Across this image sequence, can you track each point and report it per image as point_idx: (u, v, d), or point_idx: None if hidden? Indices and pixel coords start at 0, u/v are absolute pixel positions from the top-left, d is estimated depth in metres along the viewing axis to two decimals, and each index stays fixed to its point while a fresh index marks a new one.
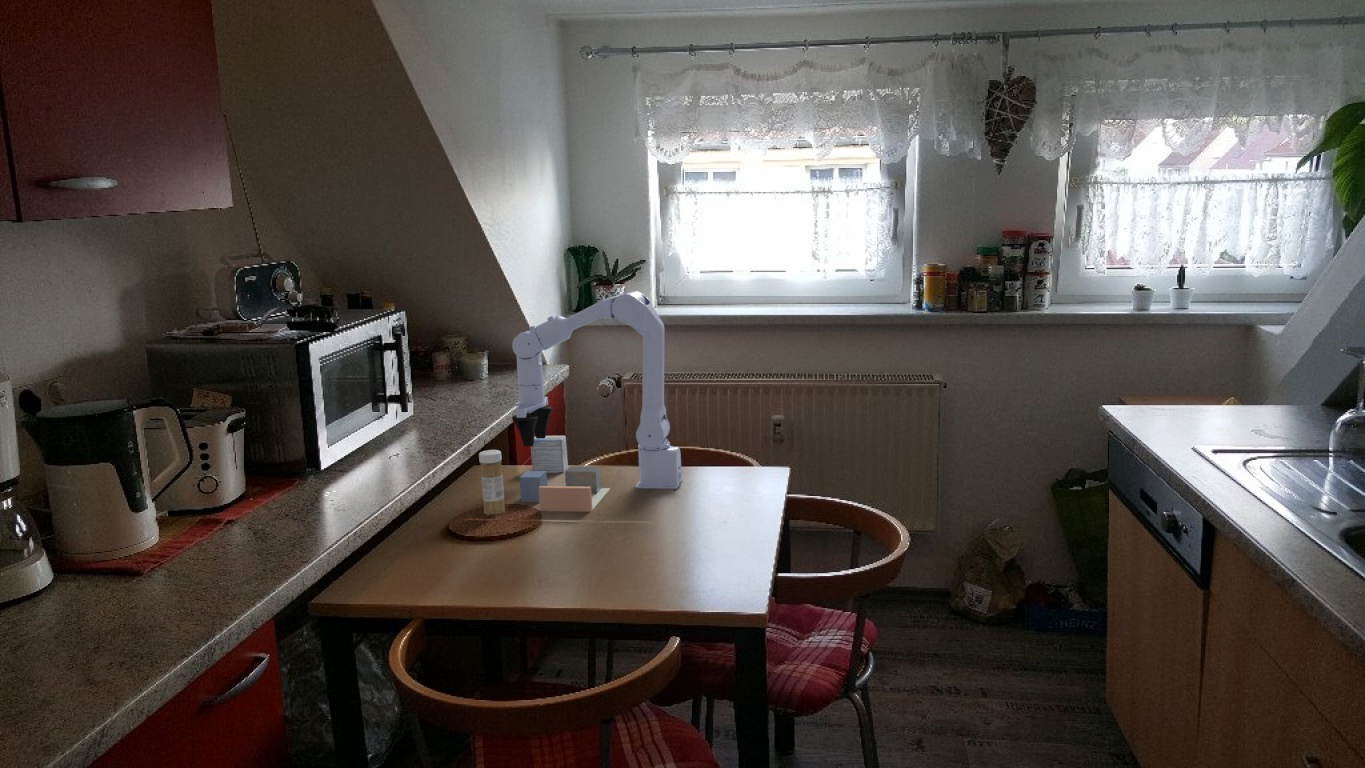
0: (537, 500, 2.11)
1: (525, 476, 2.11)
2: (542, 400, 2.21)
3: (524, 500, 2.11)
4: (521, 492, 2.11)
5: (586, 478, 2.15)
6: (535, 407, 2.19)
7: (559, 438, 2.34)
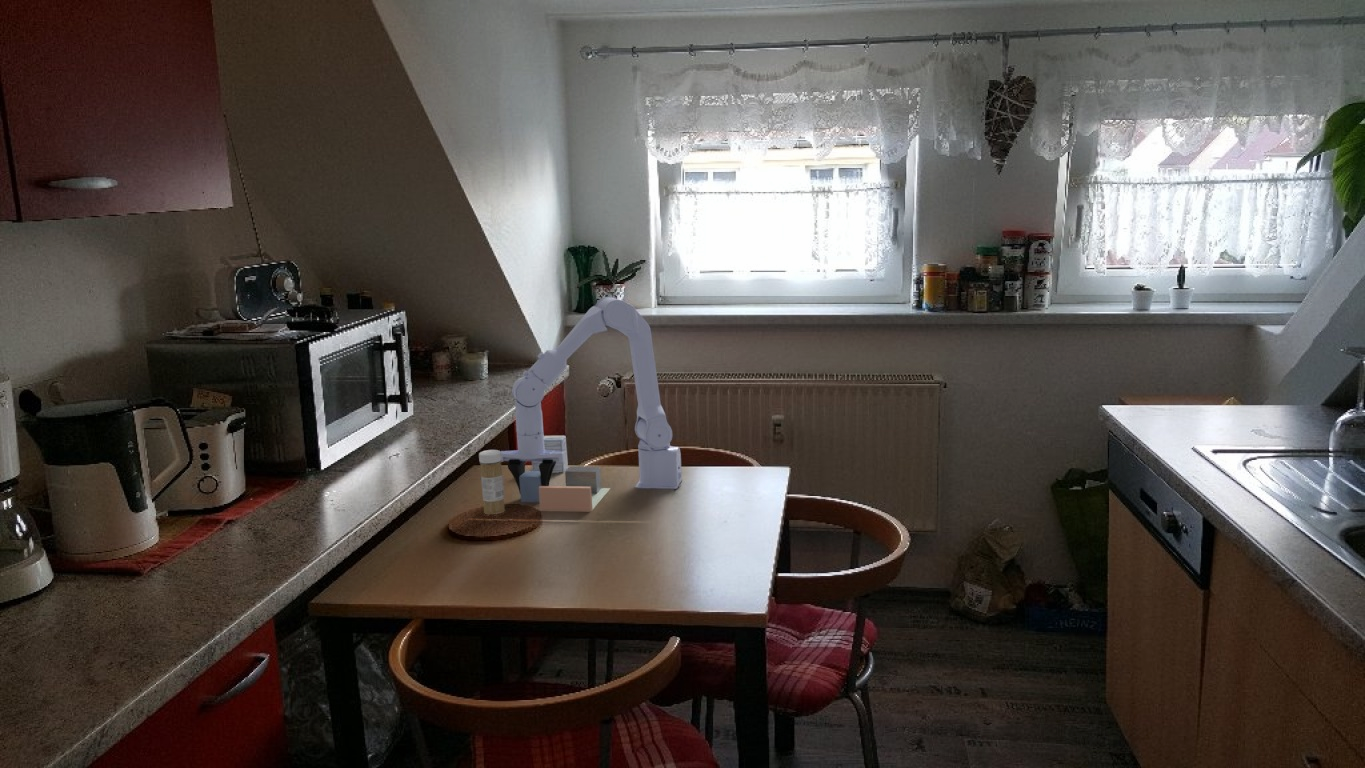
0: (537, 500, 2.11)
1: (525, 476, 2.11)
2: (524, 452, 2.09)
3: (524, 500, 2.11)
4: (521, 492, 2.11)
5: (586, 478, 2.15)
6: (513, 456, 2.10)
7: (559, 438, 2.34)
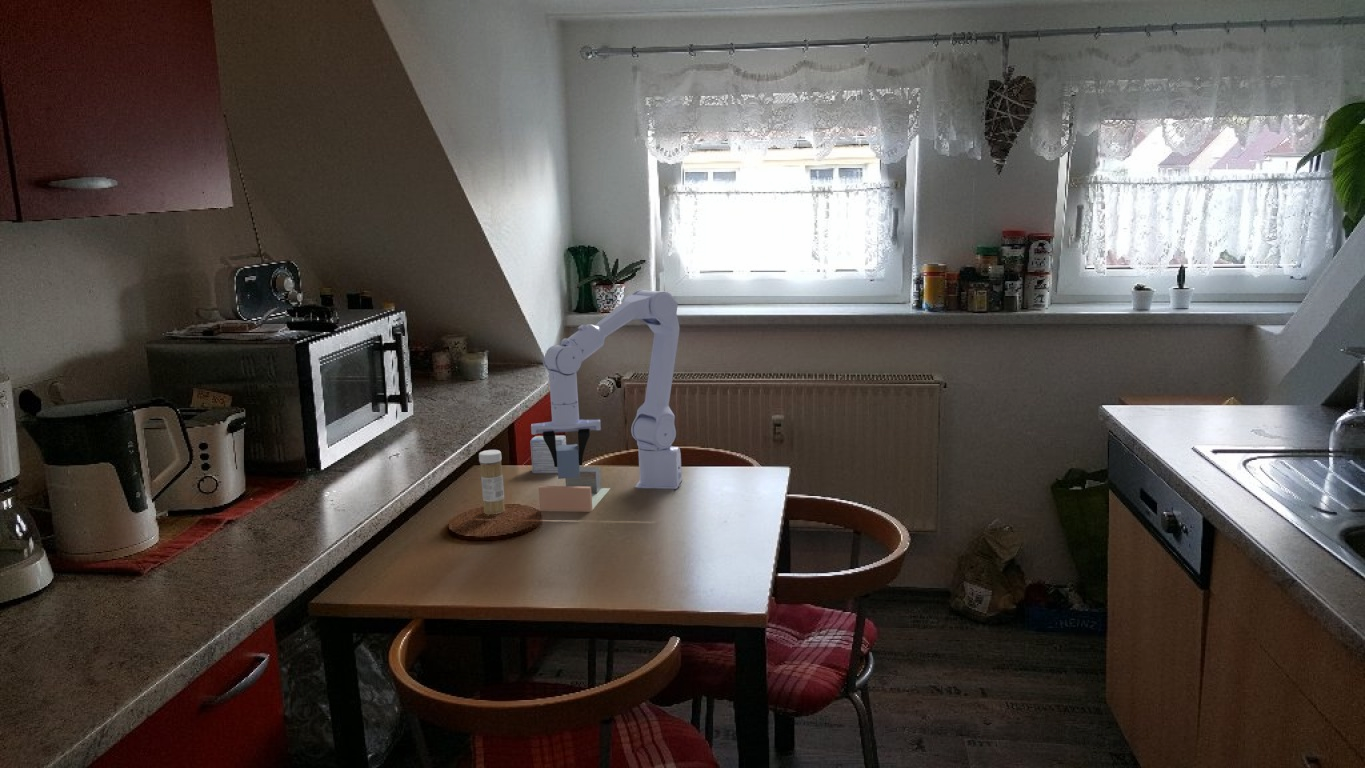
0: (575, 473, 2.05)
1: (562, 450, 2.05)
2: (562, 422, 2.03)
3: (561, 475, 2.05)
4: (558, 467, 2.05)
5: (586, 478, 2.15)
6: (550, 427, 2.04)
7: (559, 438, 2.34)
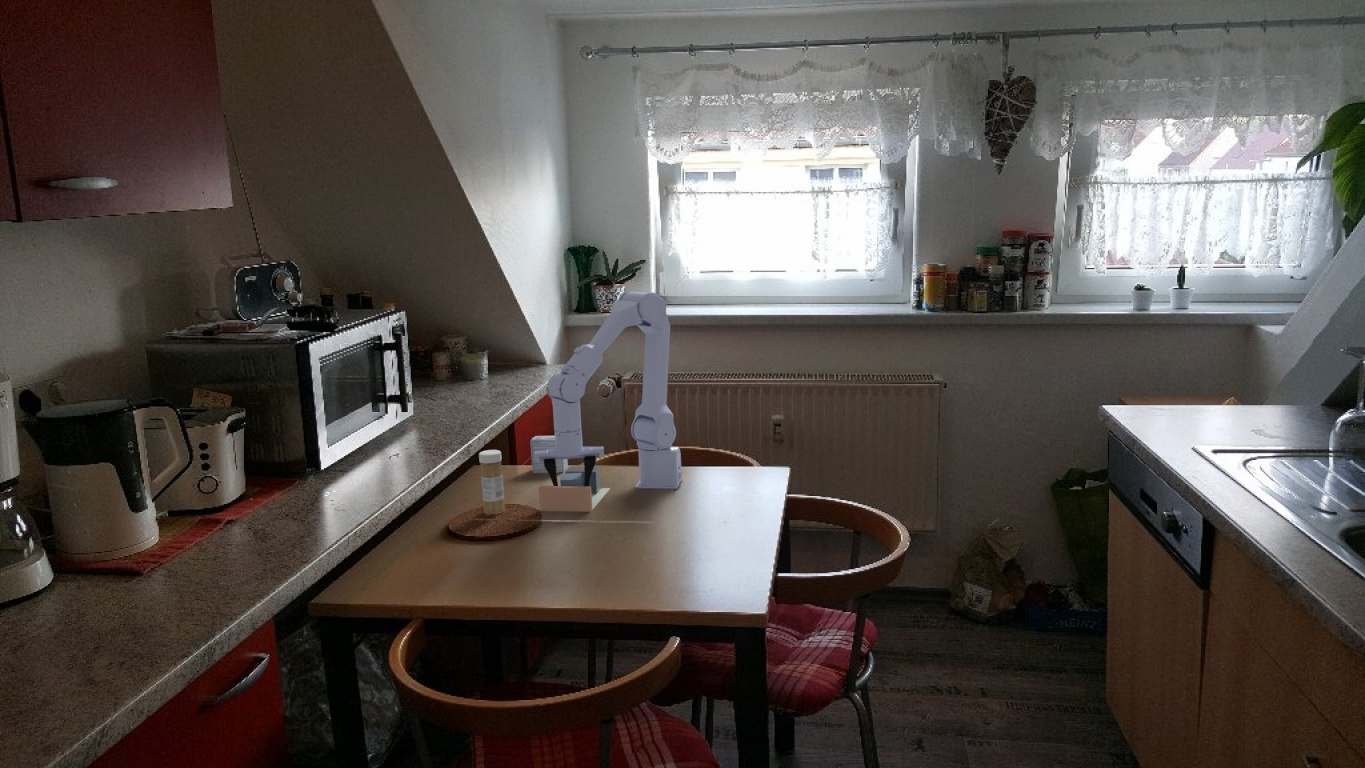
0: None
1: (565, 479, 2.06)
2: (566, 449, 2.04)
3: None
4: None
5: None
6: (553, 455, 2.04)
7: None
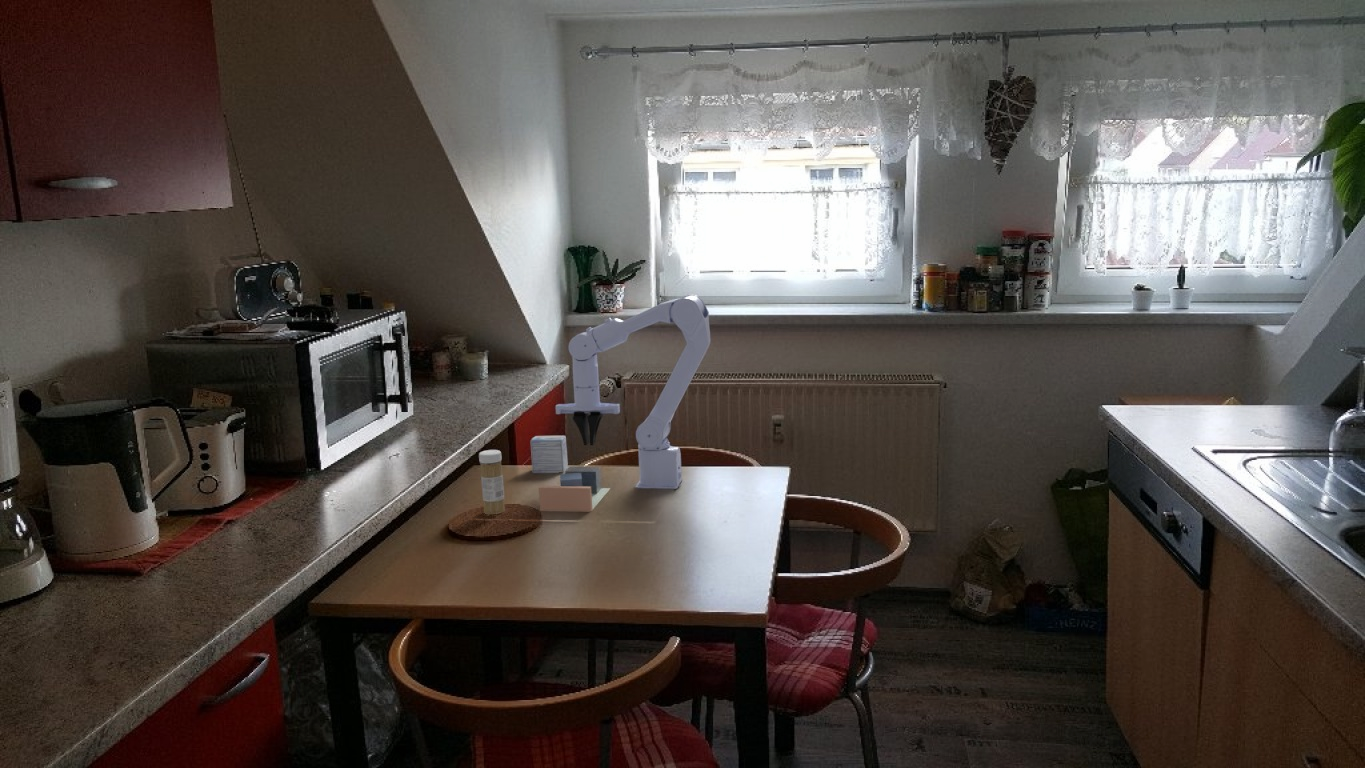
0: None
1: (565, 479, 2.06)
2: (581, 404, 2.18)
3: None
4: None
5: (586, 478, 2.15)
6: (571, 408, 2.20)
7: (559, 438, 2.34)
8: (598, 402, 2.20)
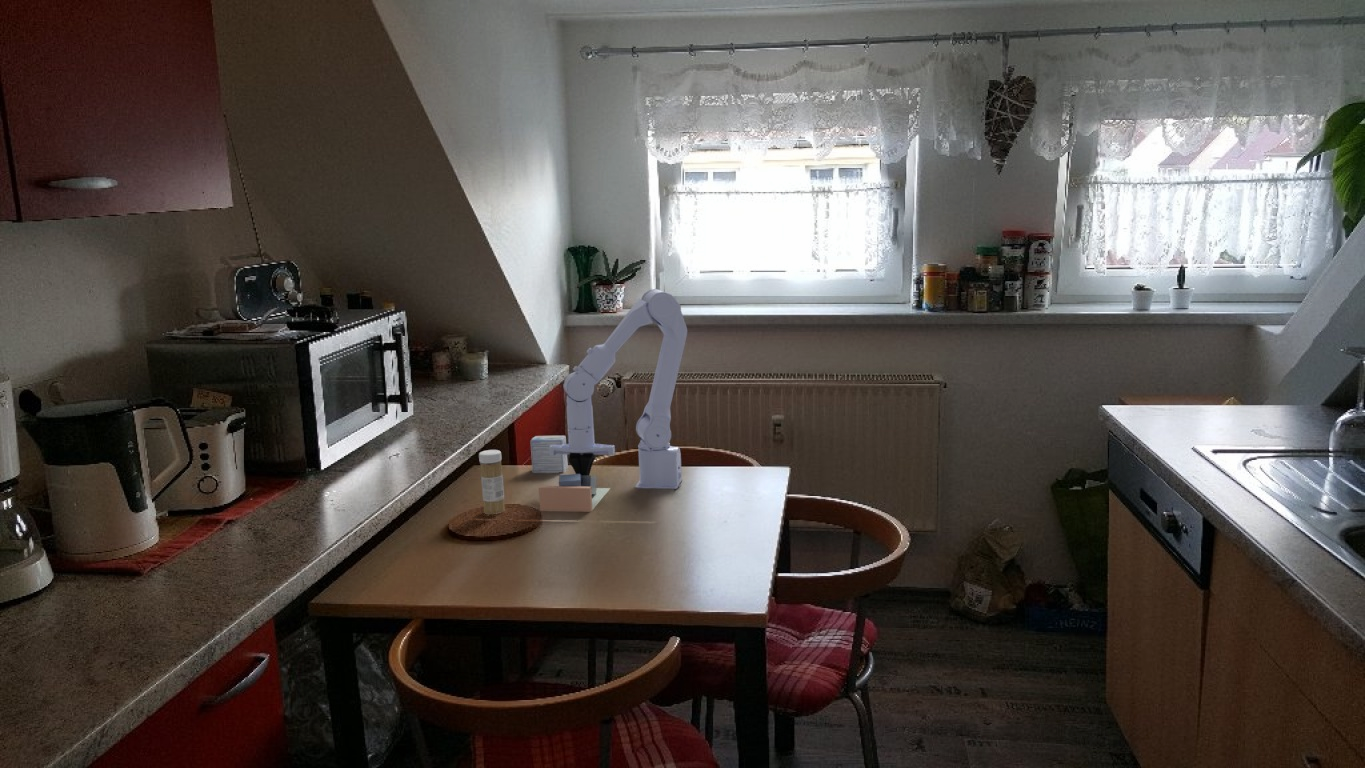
0: None
1: (564, 480, 2.05)
2: (575, 446, 2.14)
3: None
4: None
5: None
6: (564, 449, 2.15)
7: (559, 438, 2.34)
8: (592, 443, 2.15)
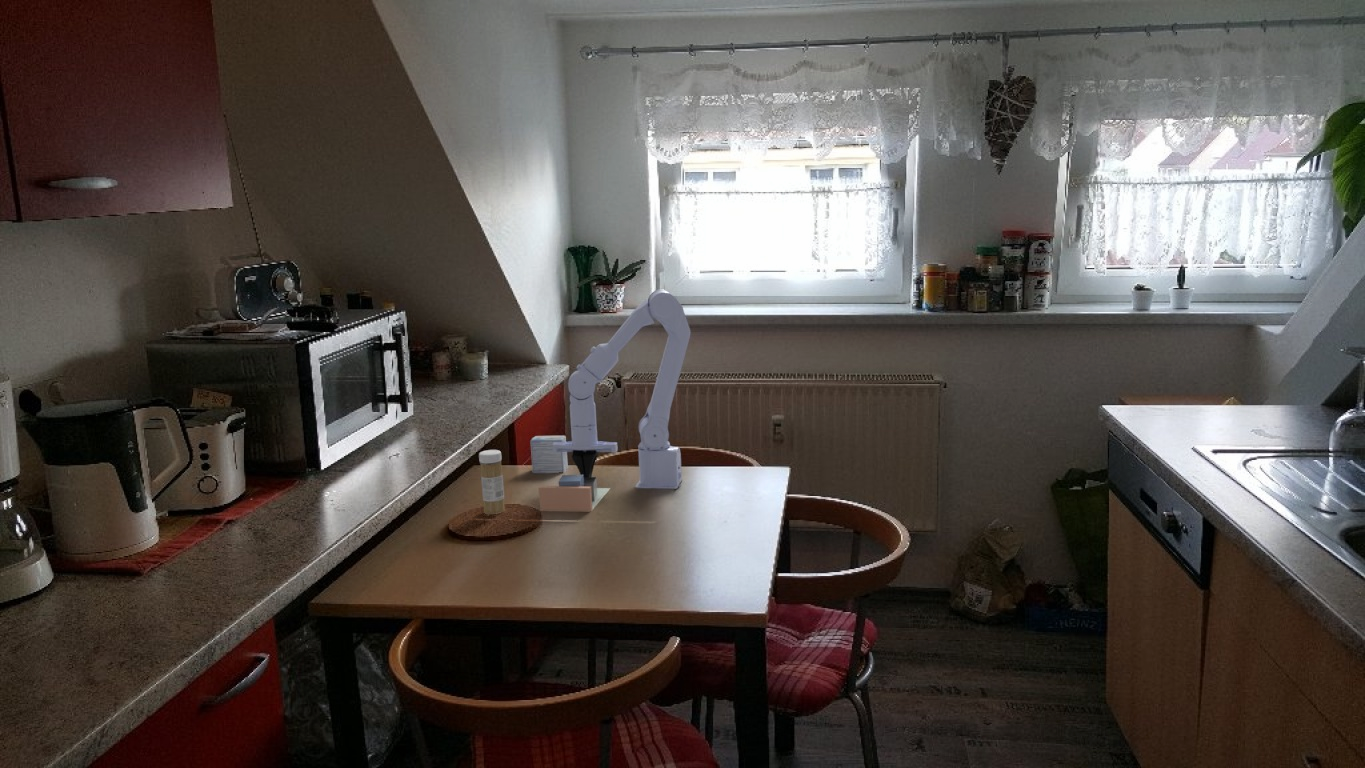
0: None
1: (564, 480, 2.04)
2: (578, 443, 2.16)
3: None
4: None
5: None
6: (568, 447, 2.17)
7: (559, 438, 2.34)
8: (595, 441, 2.18)
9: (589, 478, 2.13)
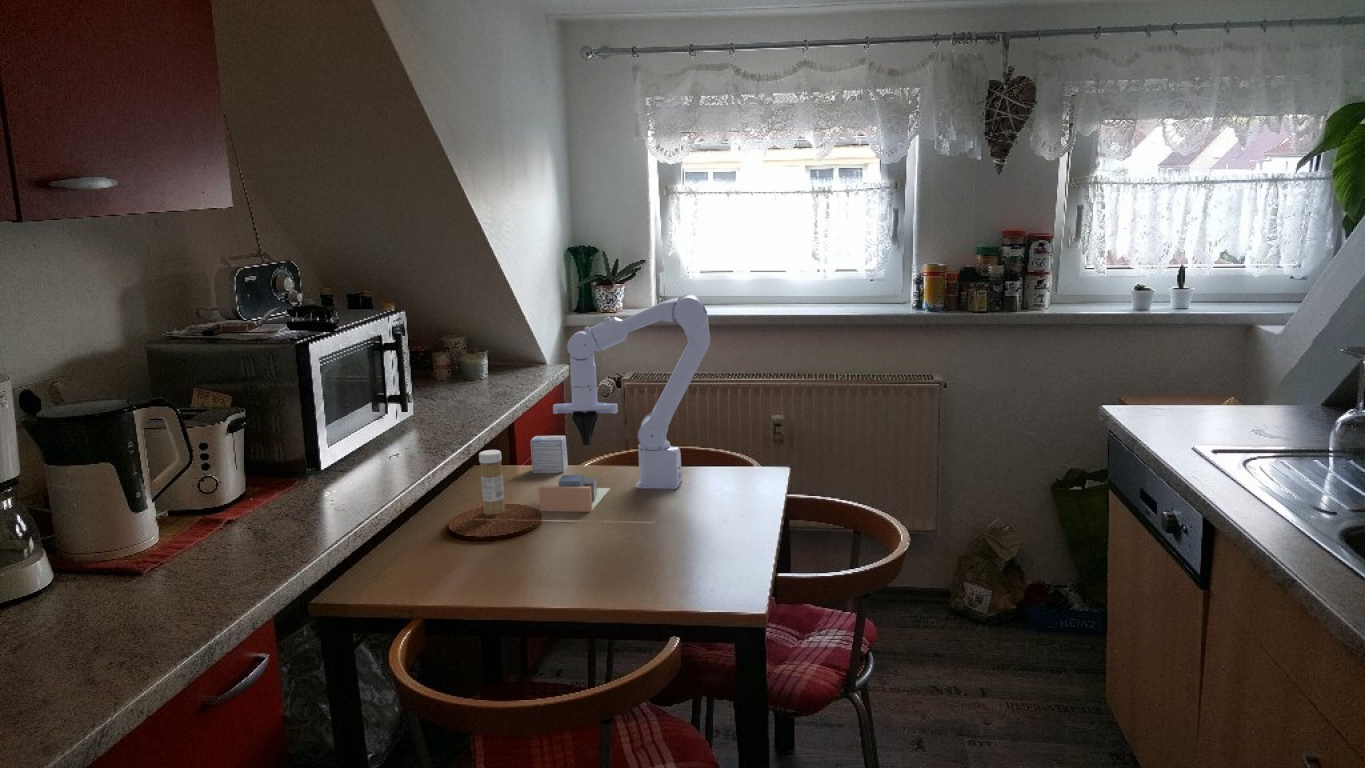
0: None
1: (564, 480, 2.04)
2: (579, 404, 2.16)
3: None
4: None
5: None
6: (568, 408, 2.18)
7: (559, 438, 2.34)
8: (596, 402, 2.18)
9: (589, 478, 2.13)
